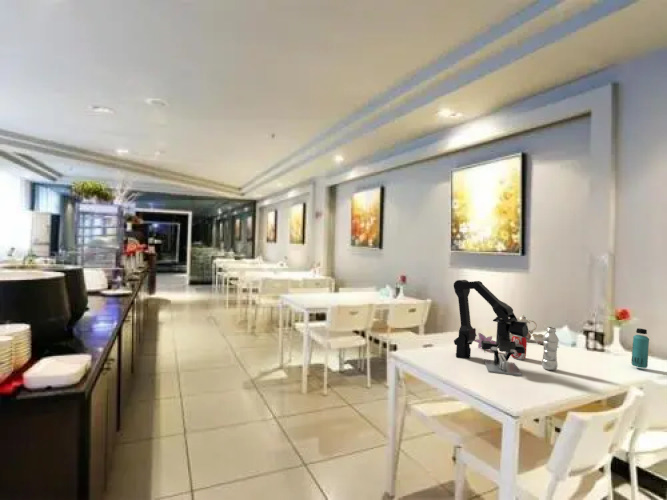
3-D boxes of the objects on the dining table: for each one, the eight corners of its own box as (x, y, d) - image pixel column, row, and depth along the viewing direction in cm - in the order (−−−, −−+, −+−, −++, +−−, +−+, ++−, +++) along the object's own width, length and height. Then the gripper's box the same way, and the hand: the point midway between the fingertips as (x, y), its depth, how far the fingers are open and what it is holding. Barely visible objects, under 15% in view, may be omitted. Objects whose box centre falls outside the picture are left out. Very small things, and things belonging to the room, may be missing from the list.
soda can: (527, 361, 194) (528, 337, 194) (512, 359, 196) (513, 336, 195) (523, 357, 201) (524, 334, 201) (509, 355, 202) (510, 333, 202)
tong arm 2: (504, 369, 176) (504, 360, 176) (499, 361, 188) (499, 353, 188) (509, 370, 176) (509, 361, 176) (504, 362, 188) (504, 354, 188)
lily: (501, 355, 206) (500, 338, 211) (489, 349, 200) (489, 331, 205) (481, 356, 215) (480, 340, 220) (469, 351, 209) (469, 333, 213)
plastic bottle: (551, 372, 177) (554, 329, 177) (538, 368, 183) (540, 326, 183) (560, 371, 180) (562, 328, 180) (546, 366, 186) (548, 325, 186)
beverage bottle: (644, 367, 191) (646, 328, 191) (650, 371, 185) (652, 330, 184) (628, 365, 193) (631, 326, 193) (634, 369, 187) (636, 329, 187)
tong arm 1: (497, 368, 177) (497, 360, 177) (493, 360, 189) (494, 352, 189) (502, 369, 176) (503, 360, 176) (498, 361, 188) (499, 353, 188)
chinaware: (502, 345, 231) (504, 318, 228) (495, 335, 247) (497, 310, 245) (552, 349, 226) (554, 322, 224) (541, 339, 243) (544, 314, 241)
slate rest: (488, 372, 174) (488, 361, 174) (483, 360, 192) (484, 350, 191) (521, 376, 171) (522, 365, 170) (514, 364, 188) (514, 354, 188)
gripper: (484, 334, 176) (482, 367, 176) (528, 338, 171) (526, 373, 171) (481, 328, 186) (479, 360, 187) (523, 332, 181) (521, 365, 182)
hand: (501, 364), depth 182 cm, fingers open, 3 cm apart
